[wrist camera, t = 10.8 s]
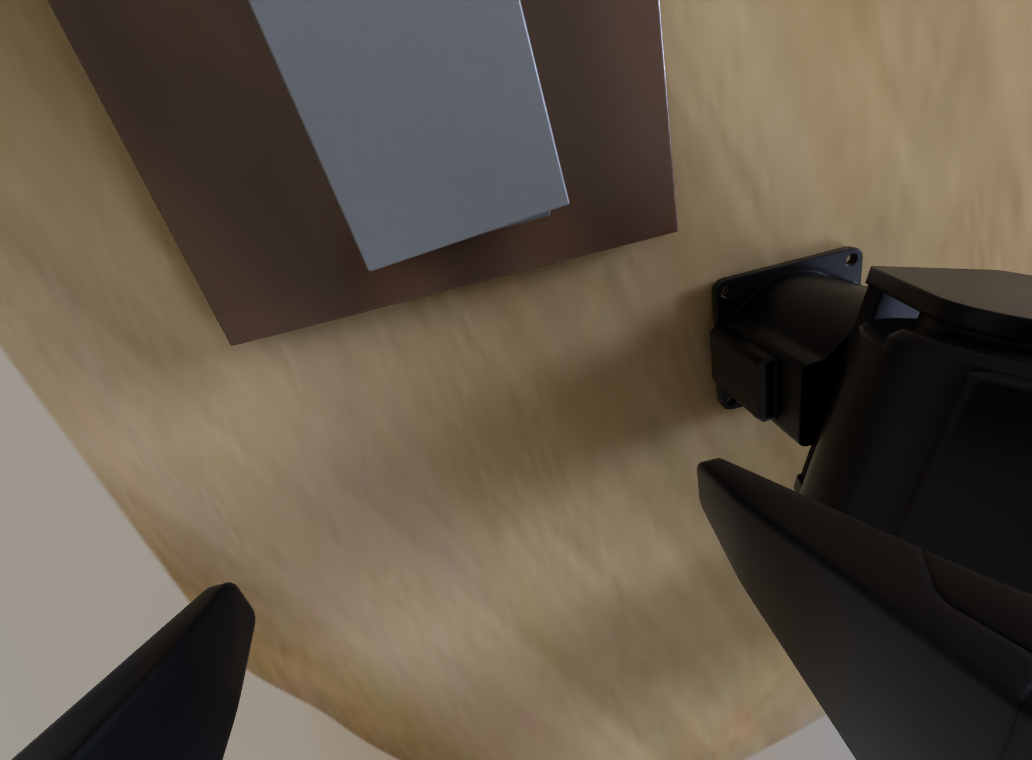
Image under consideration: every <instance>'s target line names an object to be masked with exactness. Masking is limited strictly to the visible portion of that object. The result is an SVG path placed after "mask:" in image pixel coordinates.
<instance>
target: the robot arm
mask: <svg viewBox="0 0 1032 760" xmlns="http://www.w3.org/2000/svg"><path fill="white" fill-rule="evenodd" d="M849 255H850V256H851V257H850V260H849V261H848V262H847V263H846V258H847V257H848V256H849ZM862 260H863V255H862V252H861V250H860V249H858V248H855V247H850V246H848V247H842V248H838V249H834V250H830V251H826V252H823V253H819V254H815V255H811V256H807V257H803V258H799V259H795V260H791V261H787V262H784V263H780V264H776V265H772V266H768V267H764V268H760V269H756V270H752V271H748V272H744V273H741V274H737V275H733V276H729V277H725V278H722V279H719V280H718V281H717V282H716V283H715V284H714V286H713V287H712V304H713V322H714V327H713V328H712V330H711V331H710V346H711V363H712V378H713V380H714V381H715V382H717V395H718V402H719V403H720V404H721V405H722V406H723V407H724V408H725V409H735V408H739V407H743V406H744V407H745V408H746V409H747V410H748V411H749V412H750V413H752V414H753V415H754V416H755V417H756V418H758V419H759V420H761V421H763V422H765V421H769V420H771V421H773V422H774V423H775V424H776V425H777V426H778V427H780V428H781V429H782V430H783V431H784V432H786V433H787V434H788V435H789V436H790V437H791V438H793V439H794V440H795V441H796V442H797V443H799V444H800V445H801V446H809V445H811V448H810V451H809V453H808V456H807V459H806V462H805V465H804V467H803V470H802V473H801V474H798V475H797V478H796V481H795V484H794V489H795V491H796V492H795V491H793V490H791V489H788V488H786V487H784V486H782V485H780V484H777V483H775V482H773V481H771V480H768V479H766V478H764V477H762V476H759V475H757V474H755V473H753V472H750V471H748V470H746V469H744V468H741V467H739V466H737V465H735V464H732V463H730V462H728V461H726V460H724V459H720V458H716V459H712V460H708V461H704V462H701V463H699V464H698V467H697V475H698V487H699V498H700V502H701V505H702V508H703V510H704V512H705V514H706V516H707V518H708V520H709V522H710V524H711V526H712V528H713V530H714V532H715V534H716V536H717V538H718V540H719V542H720V544H721V546H722V547H723V549H724V551H725V553H726V555H727V557H728V559H729V561H730V563H731V565H732V567H733V569H734V571H735V573H736V575H737V577H738V579H739V580H740V582H741V584H742V585H743V587H744V589H745V590H746V592H747V594H748V595H749V597H750V598H751V600H752V601H753V603H754V604H755V606H756V607H757V609H758V610H759V612H760V613H761V615H762V616H763V618H764V619H765V621H766V623H767V624H768V626H769V627H770V629H771V630H772V632H773V633H774V635H775V636H776V638H777V639H778V641H779V642H780V644H781V645H782V647H783V649H784V650H785V652H786V653H787V655H788V656H789V658H790V659H791V661H792V662H793V664H794V665H795V667H796V668H797V670H798V671H799V673H800V675H801V676H802V678H803V679H804V681H805V682H806V684H807V685H808V687H809V688H810V690H811V691H812V693H813V694H814V696H815V697H816V699H817V700H818V702H819V704H820V705H821V707H822V708H823V710H824V711H825V713H826V714H827V716H828V717H829V719H830V720H831V722H832V723H833V725H834V726H835V728H836V729H837V731H838V732H839V734H840V736H841V737H842V739H843V740H844V742H845V743H846V745H847V746H848V748H849V749H850V751H851V752H852V754H853V755H854V757H855V759H856V760H1032V276H1031V275H1025V274H1019V273H1013V272H1007V271H1000V270H979V269H948V268H917V267H886V266H871V268H870V271H869V274H868V277H867V279H866V282H865V283H866V284H868V287H867V286H863V285H860V283H861V271H862ZM726 286H728V287H729V288H728V291H727V293H726V294H724V295H722V289H723V288H724V287H726ZM730 396H732V399H731V400H729V401H727V399H728V398H729V397H730ZM254 627H255V613H254V610H253V608H252V607H251V605H250V604H249V602H248V601H247V600H246V598H245V597H244V595H243V594H242V592H241V591H240V589H239V588H238V587H237V585H236V584H234V583H232V582H227V583H223V584H219V585H215V586H212V587H209V588H207V589H206V590H205V591H204V592H202V593H201V594H200V595H199V596H198V597H197V598H196V599H194V600H193V601H192V602H191V603H190V604H189V605H188V606H187V607H185V608H184V609H183V610H182V611H181V612H180V613H179V614H177V615H176V616H175V617H174V618H173V619H172V620H171V621H169V622H168V623H167V624H166V625H165V626H164V627H162V628H161V629H160V630H159V631H158V632H157V633H156V634H154V635H153V636H152V637H151V638H150V639H149V640H148V641H146V642H145V643H144V644H143V645H142V646H141V647H140V648H138V649H137V650H136V651H135V652H134V653H133V654H132V655H131V656H129V657H128V658H127V659H126V660H125V661H124V662H122V663H121V665H119V666H118V667H117V668H116V669H114V670H113V671H112V672H111V673H110V674H109V675H108V676H107V677H106V678H104V679H103V680H102V681H101V682H100V683H99V684H97V685H96V686H95V687H94V688H93V689H92V690H91V691H89V692H88V693H87V694H86V695H85V696H84V697H82V698H81V699H80V700H79V701H78V702H77V703H76V704H75V705H73V706H72V707H71V708H70V709H69V710H68V711H66V712H65V713H64V714H63V715H62V716H61V717H60V718H58V719H57V720H56V721H55V722H54V723H53V724H52V725H50V726H49V727H48V728H47V729H46V730H45V731H44V732H42V733H41V734H40V735H39V736H38V737H37V738H36V739H35V740H33V741H32V742H31V743H30V744H29V745H28V746H26V747H25V748H24V749H23V750H22V751H21V752H20V753H18V754H17V755H16V756H15V757H14V758H13V759H12V760H223V756H224V753H225V749H226V746H227V743H228V739H229V736H230V733H231V730H232V726H233V723H234V719H235V716H236V712H237V708H238V704H239V700H240V695H241V691H242V686H243V681H244V676H245V671H246V666H247V661H248V656H249V652H250V647H251V642H252V637H253V632H254Z"/></svg>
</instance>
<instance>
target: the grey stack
mask: <svg viewBox="0 0 1032 760" xmlns="http://www.w3.org/2000/svg"><path fill="white" fill-rule="evenodd" d="M248 2H249V4H250V6H251V9H252V11H253V13H254V15H255V18H256V20H257V22H258V24H259V27H260V29H261V31H262V33H263V36H264V38H265V40H266V42H267V44H268V47H269V49H270V51H271V53H272V56H273V58H274V60H275V62H276V65H277V67H278V69H279V71H280V74H281V76H282V78H283V80H284V83H285V85H286V87H287V89H288V92H289V94H290V96H291V98H292V100H293V103H294V105H295V107H296V109H297V112H298V114H299V116H300V118H301V121H302V123H303V125H304V127H305V130H306V132H307V134H308V136H309V139H310V141H311V143H312V145H313V148H314V150H315V152H316V154H317V156H318V159H319V161H320V163H321V165H322V168H323V170H324V172H325V174H326V177H327V179H328V181H329V183H330V186H331V188H332V190H333V192H334V195H335V197H336V199H337V201H338V204H339V206H340V208H341V210H342V212H343V215H344V217H345V219H346V221H347V224H348V226H349V228H350V230H351V233H352V235H353V237H354V239H355V242H356V244H357V246H358V248H359V251H360V253H361V255H362V257H363V260H364V262H365V264H366V266H367V269H368V270H369V271H373V270H376V269H379V268H382V267H385V266H388V265H391V264H394V263H397V262H400V261H403V260H406V259H409V258H412V257H415V256H418V255H421V254H424V253H427V252H430V251H433V250H436V249H438V248H441V247H444V246H447V245H450V244H453V243H456V242H459V241H462V240H465V239H468V238H471V237H474V236H477V235H480V234H483V233H486V232H490V231H494V230H498V229H502V228H505V227H509V226H513V225H517V224H521V223H525V222H529V221H533V220H536V219H540V218H544V217H548V216H550V211H551V210H554V209H557V208H560V207H563V206H566V205H568V204H569V199H568V195H567V191H566V187H565V183H564V178H563V174H562V170H561V166H560V162H559V158H558V154H557V150H556V146H555V142H554V137H553V133H552V129H551V125H550V121H549V117H548V113H547V109H546V105H545V100H544V96H543V92H542V88H541V84H540V80H539V76H538V72H537V68H536V64H535V59H534V55H533V51H532V47H531V43H530V39H529V35H528V31H527V27H526V22H525V18H524V14H523V10H522V6H521V2H520V0H248Z"/></svg>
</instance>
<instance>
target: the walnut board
mask: <svg viewBox="0 0 1032 760" xmlns="http://www.w3.org/2000/svg"><path fill="white" fill-rule="evenodd" d="M48 2H49V4H50V6H51V8H52V10H53V11H54V13H55V15H56V17H57V19H58V21H59V23H60V25H61V27H62V28H63V30H64V32H65V34H66V36H67V38H68V40H69V42H70V43H71V45H72V47H73V49H74V51H75V53H76V55H77V57H78V59H79V60H80V62H81V64H82V66H83V68H84V70H85V72H86V74H87V75H88V77H89V79H90V81H91V83H92V85H93V87H94V89H95V91H96V92H97V94H98V96H99V98H100V100H101V102H102V104H103V106H104V107H105V109H106V111H107V113H108V115H109V117H110V119H111V121H112V122H113V124H114V126H115V128H116V130H117V132H118V134H119V136H120V138H121V139H122V141H123V143H124V145H125V147H126V149H127V151H128V153H129V154H130V156H131V158H132V160H133V162H134V164H135V166H136V168H137V170H138V171H139V173H140V175H141V177H142V179H143V181H144V183H145V185H146V186H147V188H148V190H149V192H150V194H151V196H152V198H153V200H154V202H155V203H156V205H157V207H158V209H159V211H160V213H161V215H162V217H163V218H164V220H165V222H166V224H167V226H168V228H169V230H170V232H171V233H172V235H173V237H174V239H175V241H176V243H177V245H178V247H179V249H180V250H181V252H182V254H183V256H184V258H185V260H186V262H187V264H188V265H189V267H190V269H191V271H192V273H193V275H194V277H195V279H196V281H197V282H198V284H199V286H200V288H201V290H202V292H203V294H204V296H205V297H206V299H207V301H208V303H209V305H210V307H211V309H212V311H213V313H214V314H215V316H216V318H217V320H218V322H219V324H220V326H221V328H222V329H223V331H224V333H225V335H226V337H227V339H228V341H229V343H230V345H231V346H234V345H238V344H242V343H246V342H249V341H253V340H257V339H261V338H265V337H269V336H273V335H277V334H281V333H284V332H288V331H292V330H296V329H300V328H304V327H308V326H312V325H316V324H319V323H323V322H327V321H331V320H335V319H339V318H343V317H347V316H351V315H354V314H358V313H362V312H366V311H370V310H374V309H378V308H382V307H386V306H389V305H393V304H397V303H401V302H405V301H409V300H413V299H417V298H421V297H424V296H428V295H432V294H436V293H440V292H444V291H448V290H452V289H456V288H459V287H463V286H467V285H471V284H475V283H479V282H483V281H487V280H491V279H494V278H498V277H502V276H506V275H510V274H514V273H518V272H522V271H526V270H529V269H533V268H537V267H541V266H545V265H549V264H553V263H557V262H561V261H564V260H568V259H572V258H576V257H580V256H584V255H588V254H592V253H596V252H599V251H603V250H607V249H611V248H615V247H619V246H623V245H627V244H631V243H634V242H638V241H642V240H646V239H650V238H654V237H658V236H662V235H666V234H669V233H673V232H677V231H678V221H677V209H676V197H675V185H674V173H673V160H672V148H671V136H670V124H669V111H668V99H667V87H666V75H665V62H664V50H663V38H662V26H661V13H660V1H659V0H520V2H521V6H522V10H523V14H524V18H525V22H526V27H527V31H528V35H529V39H530V43H531V47H532V51H533V55H534V59H535V64H536V68H537V72H538V76H539V80H540V84H541V88H542V92H543V96H544V100H545V105H546V109H547V113H548V117H549V121H550V125H551V129H552V133H553V137H554V142H555V146H556V150H557V154H558V158H559V162H560V166H561V170H562V174H563V178H564V183H565V187H566V191H567V195H568V199H569V204H568V205H566V206H563V207H560V208H557V209H554V210H551V211H550V216H548V217H544V218H540V219H536V220H533V221H529V222H525V223H521V224H517V225H513V226H509V227H505V228H502V229H498V230H494V231H490V232H486V233H483V234H480V235H477V236H474V237H471V238H468V239H465V240H462V241H459V242H456V243H453V244H450V245H447V246H444V247H441V248H438V249H436V250H433V251H430V252H427V253H424V254H421V255H418V256H415V257H412V258H409V259H406V260H403V261H400V262H397V263H394V264H391V265H388V266H385V267H382V268H379V269H376V270H373V271H369V270H368V269H367V266H366V264H365V262H364V260H363V257H362V255H361V253H360V251H359V248H358V246H357V244H356V242H355V239H354V237H353V235H352V233H351V230H350V228H349V226H348V224H347V221H346V219H345V217H344V215H343V212H342V210H341V208H340V206H339V204H338V201H337V199H336V197H335V195H334V192H333V190H332V188H331V186H330V183H329V181H328V179H327V177H326V174H325V172H324V170H323V168H322V165H321V163H320V161H319V159H318V156H317V154H316V152H315V150H314V148H313V145H312V143H311V141H310V139H309V136H308V134H307V132H306V130H305V127H304V125H303V123H302V121H301V118H300V116H299V114H298V112H297V109H296V107H295V105H294V103H293V100H292V98H291V96H290V94H289V92H288V89H287V87H286V85H285V83H284V80H283V78H282V76H281V74H280V71H279V69H278V67H277V65H276V62H275V60H274V58H273V56H272V53H271V51H270V49H269V47H268V44H267V42H266V40H265V38H264V36H263V33H262V31H261V29H260V27H259V24H258V22H257V20H256V18H255V15H254V13H253V11H252V9H251V6H250V4H249V2H248V0H48Z"/></svg>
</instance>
